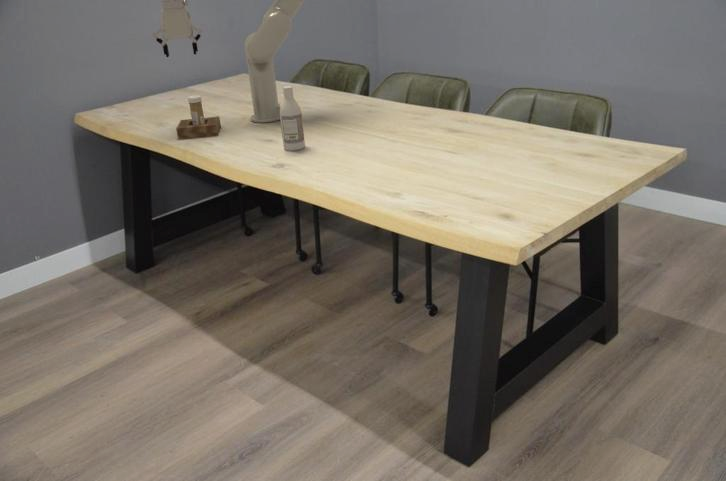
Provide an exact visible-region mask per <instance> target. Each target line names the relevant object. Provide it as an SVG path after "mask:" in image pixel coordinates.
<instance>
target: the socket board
mask: <svg viewBox="0 0 726 481" xmlns="http://www.w3.org/2000/svg"><path fill="white" fill-rule="evenodd" d="M204 120H205V124H200V125H193V123H192V118H189V119H187V118H186V119H180V121H179V122H178V125H177V127H176V129H175V130H176V135H177V140H179V141H180V140H190V139H198V138H199V139H200V138H209V137H211V138H212V137H218V136H219V135H220V131H221V127H222V124H221V118H220V116H209V117H204Z"/></svg>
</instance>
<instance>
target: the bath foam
mask: <svg viewBox="0 0 726 481" xmlns="http://www.w3.org/2000/svg"><path fill="white" fill-rule="evenodd" d="M282 90H283V91H282V92H283V98H284V99H283V100H282V102H281V105H280V120H279V122H280V126H281V137H282V144H283V148H284V150H286V151H287V152H289V151H290V152H292V151H293V152H295V151H300V150H303V149H304V148H305V147H306V143H305V132H304V123H303V115H302V114H303V113H302V109H301V106H300V105H299V103H298V101H297V100H296V99H295V98H294V91H293V86H292V85H285V86H283V87H282Z"/></svg>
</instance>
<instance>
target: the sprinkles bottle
mask: <svg viewBox="0 0 726 481" xmlns="http://www.w3.org/2000/svg"><path fill="white" fill-rule="evenodd" d="M187 102H188V104H189V108H190V116H191V117H190V118H191V119H192V123H193V125H200V124H205V120H204V118H205V116H204V115H205V114H204V110H203V105H202V96H201V95H199V94H198V95H197V94H194V95H190V96H188V97H187Z"/></svg>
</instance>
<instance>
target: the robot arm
mask: <svg viewBox="0 0 726 481" xmlns="http://www.w3.org/2000/svg"><path fill="white" fill-rule="evenodd" d="M160 2H161V8H162V9H161V10H160V22H161V27H160V28H158V29H157V30H156V31H154V32H153V33H152V36H153V38H154V39H155V41H156V42H157V43H158V44H160V45H161V46H162V49H163V50H162V51H163V54H164V55H165V56H166V58H169V57H170V52H169V47H168V44H167V42H168V41H172V40H180V39H181V40H182V39H190V40H191V41H192V44H191V45H192V50H193V51H192V52H193V55H197V53H198V52H199V50H198V43H197V42H198V40H199V39H200V38H201V36H202V34H203V28H201V27H199V26H196V25H193V24H192V22H191V21H192V20H191V17H190V13H189V10H188V8H187V7H185V6H188V5H189V0H160ZM304 2H305V0H274V2H273V3H272V5H271V6H270V7H269V8H268V10H267V11H266V12H265V13H264V16H263V18H262V23H261V24H260V26H259V27H258V28H257V30H256V31H255V32H252V33H250V34H249V35H248V36H247V37H246V39H245V40H244V41H245V42H244V54H245V58H246V64H247V71H248V78H249V79H248V80H249V87H250V93H251V100H252V107H253V114H252V115H251V116H250V117H249V118H250V121H251V122H253V123H261V124H262V123H271V122H276V121H280V107H281V105H280V103H279V98H278V90H277V80H276V73H275V64H274V58H273V57H274V55H275V54H276V53H277V51H278V50H279V49H280V47H281V46H282V44H284V41H285V40H286V39H287V37H288V36H289V34H290V31H291V29H292V20H293V19H294V17H295V16H296V14H297V13H298V11H299V10H300V8H301V6H302V5H303V4H304ZM193 31H196V32H197V35H195V36H194V34H193V33H194V32H193ZM161 33H162V37H163V38H164V39H162V38H160V36H159V34H161Z"/></svg>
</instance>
